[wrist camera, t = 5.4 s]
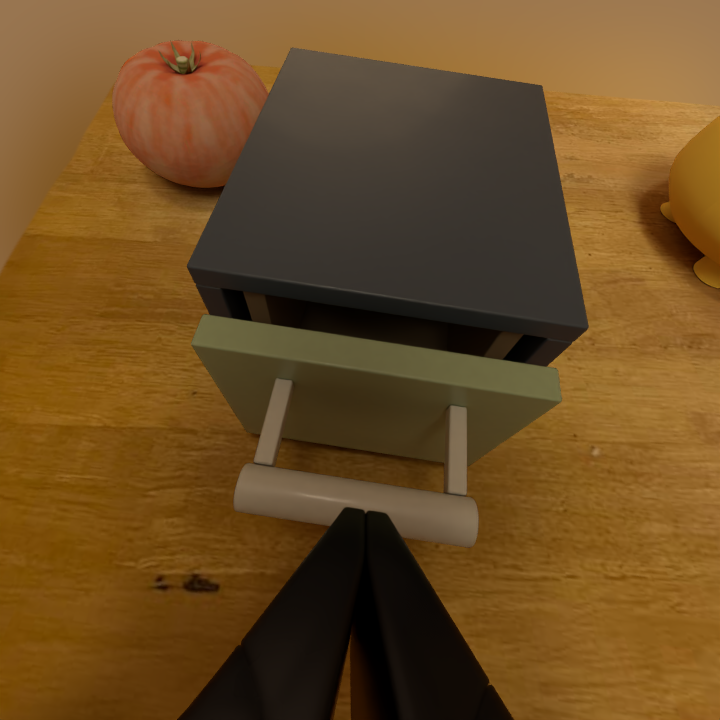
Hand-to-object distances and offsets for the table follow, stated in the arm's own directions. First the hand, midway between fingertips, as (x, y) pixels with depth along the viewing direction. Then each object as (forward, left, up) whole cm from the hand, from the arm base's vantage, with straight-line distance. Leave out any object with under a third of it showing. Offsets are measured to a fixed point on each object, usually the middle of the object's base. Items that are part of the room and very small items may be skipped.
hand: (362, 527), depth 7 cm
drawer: (+9, +3, -11) cm, 14 cm away
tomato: (+19, +23, -12) cm, 32 cm away
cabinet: (+13, +5, -12) cm, 19 cm away
